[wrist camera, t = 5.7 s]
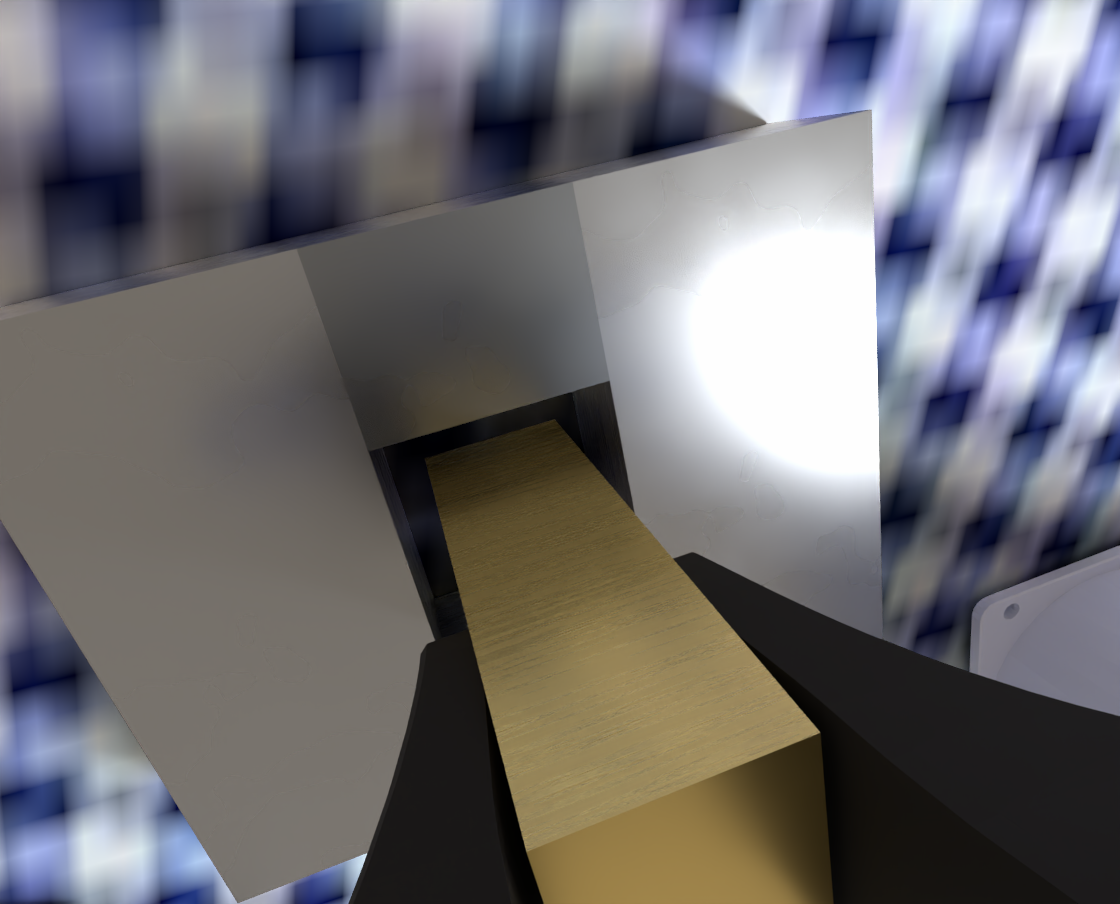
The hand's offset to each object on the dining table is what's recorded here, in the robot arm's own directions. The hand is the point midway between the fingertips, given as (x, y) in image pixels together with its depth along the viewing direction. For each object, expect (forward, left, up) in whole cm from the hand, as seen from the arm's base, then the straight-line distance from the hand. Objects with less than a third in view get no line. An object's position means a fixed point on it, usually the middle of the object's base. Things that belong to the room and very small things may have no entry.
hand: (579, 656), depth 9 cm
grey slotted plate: (0, 0, -6) cm, 6 cm away
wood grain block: (0, 0, -4) cm, 4 cm away
